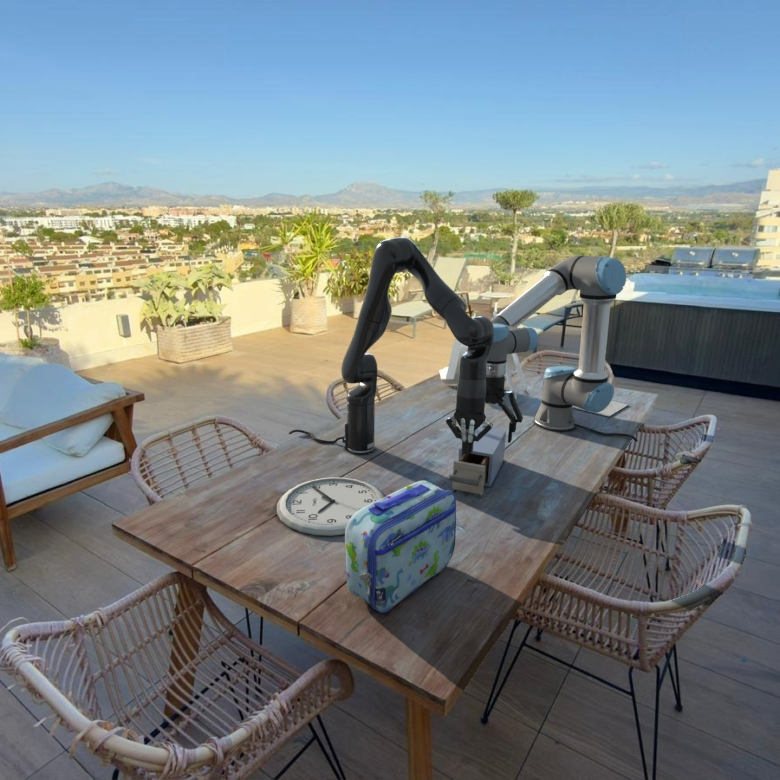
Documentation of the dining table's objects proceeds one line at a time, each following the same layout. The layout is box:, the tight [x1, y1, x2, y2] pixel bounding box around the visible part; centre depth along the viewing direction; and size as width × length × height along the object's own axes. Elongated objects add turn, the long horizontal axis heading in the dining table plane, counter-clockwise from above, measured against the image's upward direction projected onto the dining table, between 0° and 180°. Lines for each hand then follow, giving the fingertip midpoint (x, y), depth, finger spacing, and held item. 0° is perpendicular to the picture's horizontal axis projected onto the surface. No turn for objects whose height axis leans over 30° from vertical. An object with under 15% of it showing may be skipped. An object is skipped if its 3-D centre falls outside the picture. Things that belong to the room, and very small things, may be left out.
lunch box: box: [344, 480, 457, 614], centre depth 109 cm, size 26×11×21 cm, turn 135°
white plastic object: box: [438, 310, 531, 400], centre depth 245 cm, size 37×45×31 cm
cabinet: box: [457, 426, 507, 488], centre depth 164 cm, size 20×10×10 cm, turn 157°
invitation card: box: [573, 400, 629, 418], centre depth 226 cm, size 21×1×15 cm
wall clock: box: [276, 476, 386, 537], centre depth 142 cm, size 30×2×30 cm
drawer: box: [448, 453, 489, 496], centre depth 154 cm, size 25×9×9 cm, turn 157°
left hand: (467, 453), depth 143 cm, fingers closed
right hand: (488, 437), depth 169 cm, fingers open, 13 cm apart
